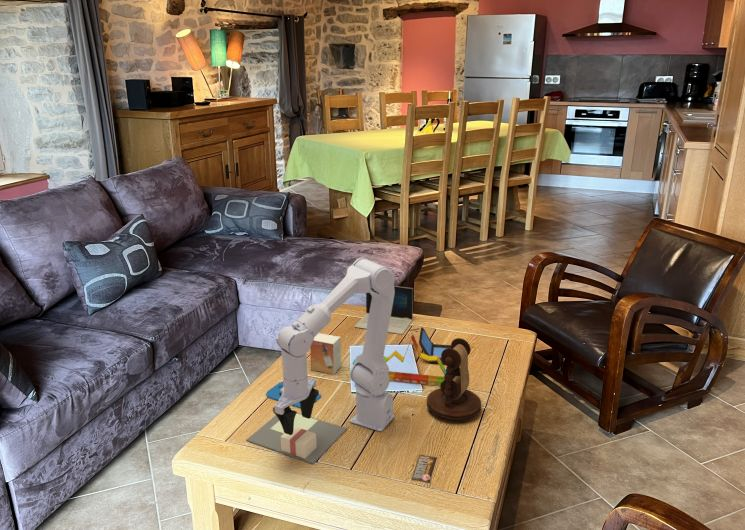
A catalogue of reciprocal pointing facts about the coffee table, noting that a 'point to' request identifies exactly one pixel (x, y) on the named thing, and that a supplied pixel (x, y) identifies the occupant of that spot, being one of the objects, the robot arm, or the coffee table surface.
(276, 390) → the handheld gaming device
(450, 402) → the brown upright jointed piece
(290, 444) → the card deck
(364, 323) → the laptop
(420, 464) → the chocolate bar
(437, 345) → the handheld game console
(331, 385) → the coffee table surface
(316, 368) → the small box
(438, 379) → the chart
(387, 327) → the robot arm
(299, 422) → the mat
